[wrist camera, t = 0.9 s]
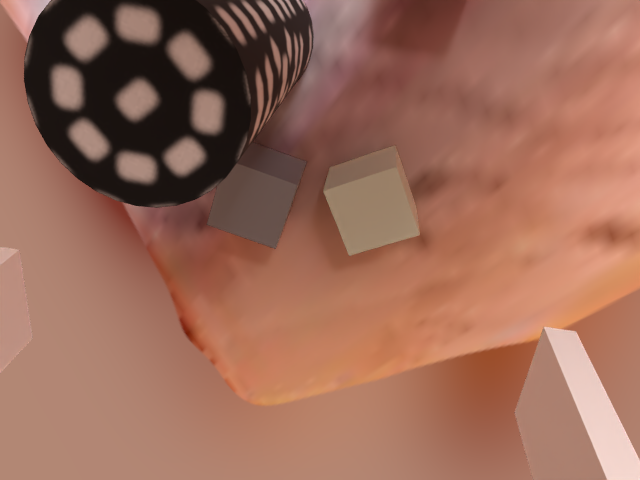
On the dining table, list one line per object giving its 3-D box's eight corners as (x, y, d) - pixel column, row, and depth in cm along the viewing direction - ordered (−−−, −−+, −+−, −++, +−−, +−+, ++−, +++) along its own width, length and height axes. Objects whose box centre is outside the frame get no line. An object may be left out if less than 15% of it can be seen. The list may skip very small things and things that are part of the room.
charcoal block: (242, 137, 42) (224, 159, 37) (307, 161, 42) (297, 185, 38) (224, 198, 44) (206, 224, 40) (286, 219, 44) (275, 248, 40)
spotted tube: (260, -62, 36) (138, -87, 18) (338, 51, 38) (298, 128, 21) (165, 21, 39) (-23, 72, 21) (243, 122, 41) (135, 244, 23)
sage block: (329, 166, 42) (322, 191, 38) (395, 144, 41) (396, 166, 36) (352, 226, 44) (349, 256, 40) (416, 206, 43) (419, 235, 38)
